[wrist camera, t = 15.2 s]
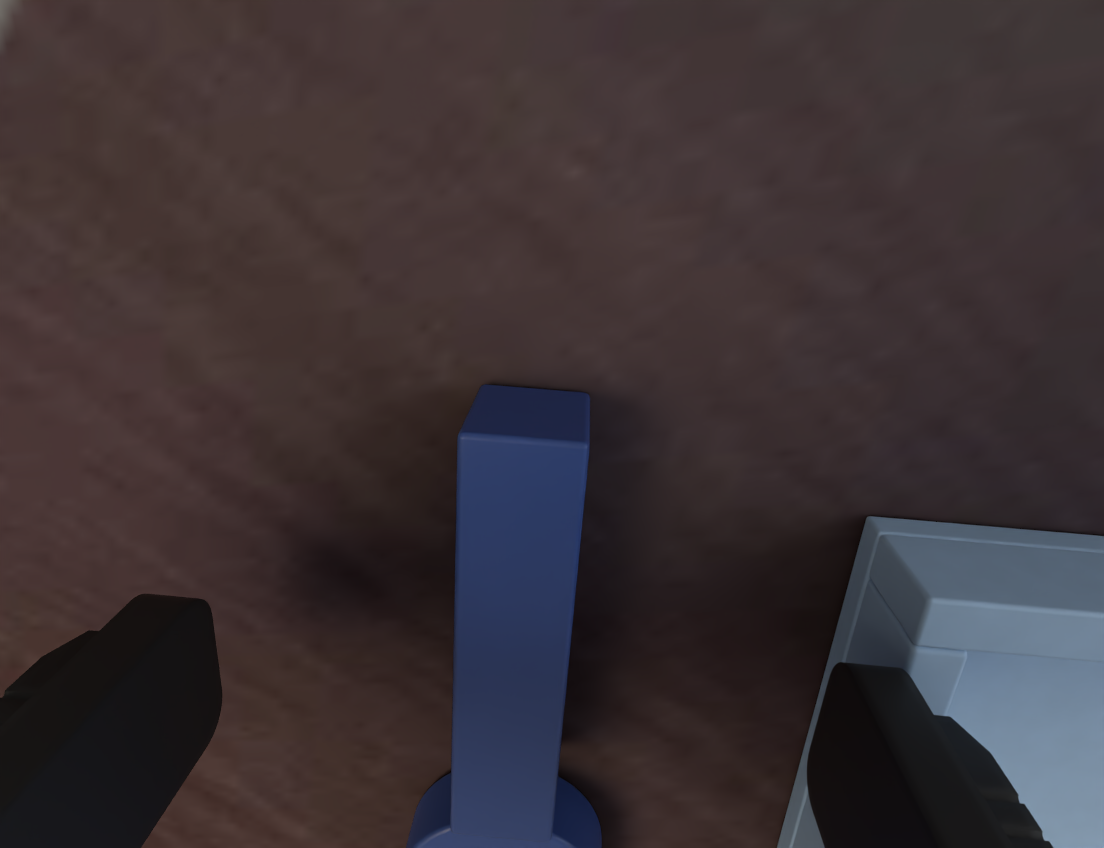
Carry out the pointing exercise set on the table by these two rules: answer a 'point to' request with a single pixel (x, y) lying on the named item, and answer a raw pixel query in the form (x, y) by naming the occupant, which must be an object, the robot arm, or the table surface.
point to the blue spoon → (513, 626)
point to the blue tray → (987, 656)
